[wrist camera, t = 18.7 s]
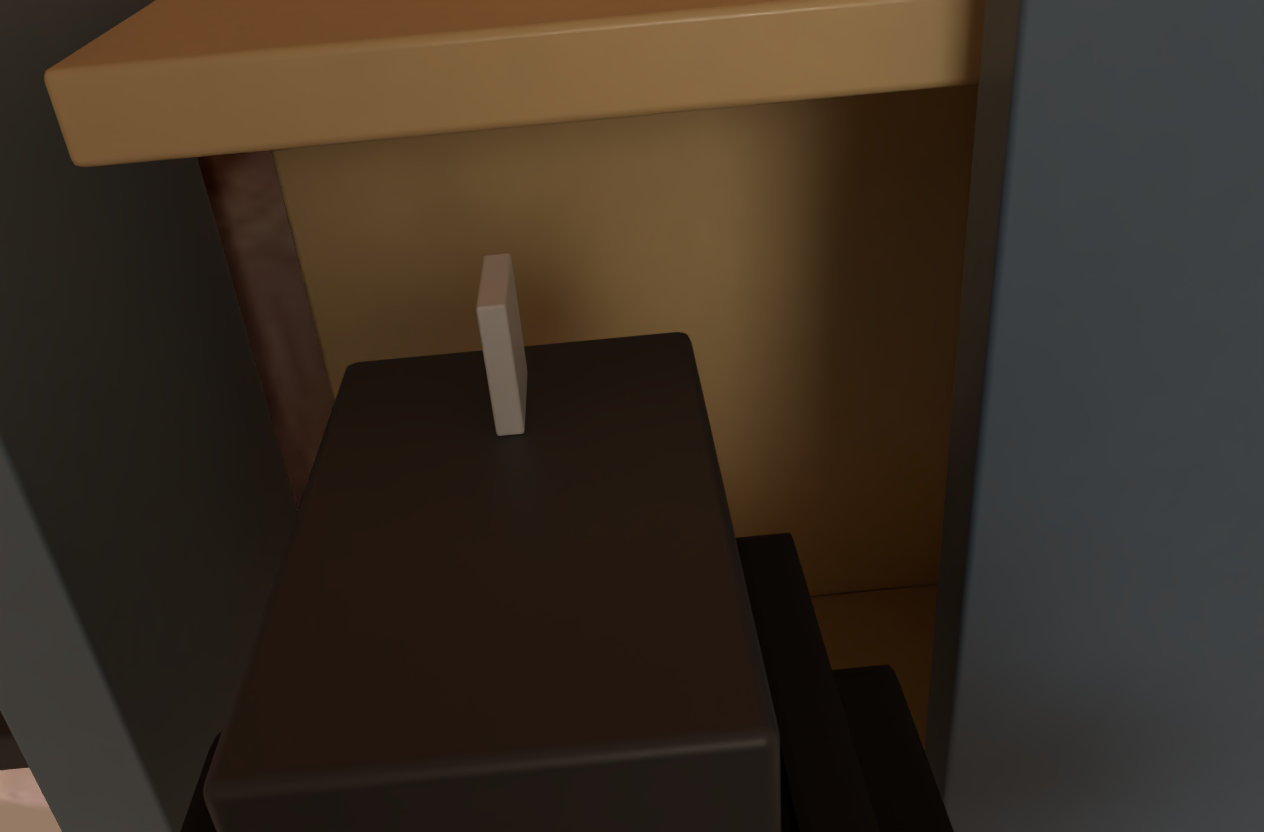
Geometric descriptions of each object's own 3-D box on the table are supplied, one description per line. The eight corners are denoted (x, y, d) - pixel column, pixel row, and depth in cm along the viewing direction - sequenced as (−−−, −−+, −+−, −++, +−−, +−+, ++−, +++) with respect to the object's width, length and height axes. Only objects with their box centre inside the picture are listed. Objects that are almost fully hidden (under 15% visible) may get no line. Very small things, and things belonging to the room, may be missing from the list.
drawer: (-92, 705, 20) (-351, 1089, 15) (-522, -53, 14) (-1310, 98, 8) (956, 603, 21) (1114, 942, 15) (1031, -194, 14) (1370, -148, 8)
